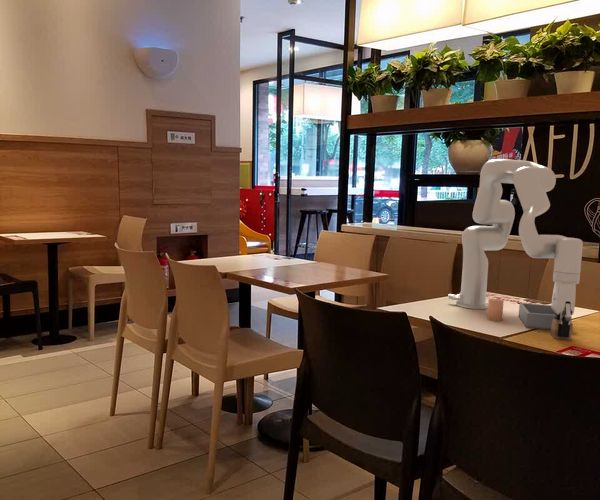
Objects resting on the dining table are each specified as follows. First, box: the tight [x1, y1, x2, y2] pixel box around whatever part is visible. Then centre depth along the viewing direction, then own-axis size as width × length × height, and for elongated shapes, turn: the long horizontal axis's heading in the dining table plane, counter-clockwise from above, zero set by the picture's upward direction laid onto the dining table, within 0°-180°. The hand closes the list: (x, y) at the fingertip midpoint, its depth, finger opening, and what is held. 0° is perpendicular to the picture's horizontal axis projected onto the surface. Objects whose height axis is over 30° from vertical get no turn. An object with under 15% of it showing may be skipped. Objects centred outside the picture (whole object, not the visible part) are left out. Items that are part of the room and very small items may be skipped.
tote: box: [518, 302, 573, 331], centre depth 194 cm, size 14×18×5 cm
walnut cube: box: [550, 319, 574, 341], centre depth 176 cm, size 5×5×5 cm
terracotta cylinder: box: [486, 298, 505, 322], centre depth 198 cm, size 5×5×7 cm
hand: (561, 334), depth 177 cm, fingers closed on walnut cube, 5 cm apart
